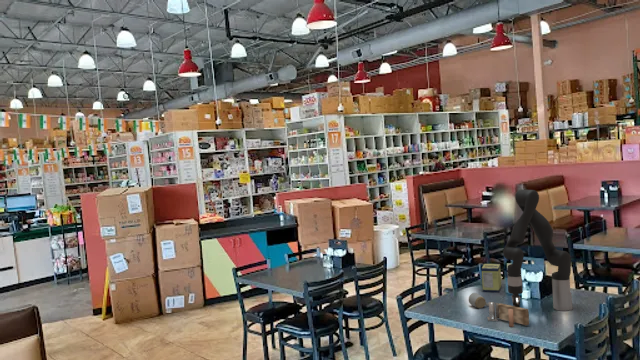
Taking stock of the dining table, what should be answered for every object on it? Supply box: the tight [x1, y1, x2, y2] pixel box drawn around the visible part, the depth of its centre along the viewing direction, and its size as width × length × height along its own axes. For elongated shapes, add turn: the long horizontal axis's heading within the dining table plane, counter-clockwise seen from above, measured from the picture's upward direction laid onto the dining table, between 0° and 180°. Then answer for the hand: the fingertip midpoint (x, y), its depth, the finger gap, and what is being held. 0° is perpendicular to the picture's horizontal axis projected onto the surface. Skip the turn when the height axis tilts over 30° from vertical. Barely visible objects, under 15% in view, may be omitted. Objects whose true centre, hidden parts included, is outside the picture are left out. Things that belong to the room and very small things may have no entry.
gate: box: [494, 302, 530, 326], centre depth 281 cm, size 19×2×8 cm, turn 36°
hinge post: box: [486, 301, 499, 322], centre depth 289 cm, size 5×5×10 cm
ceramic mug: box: [468, 292, 489, 309], centre depth 313 cm, size 11×8×8 cm
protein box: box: [481, 263, 503, 293], centre depth 348 cm, size 10×16×16 cm
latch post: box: [508, 309, 515, 328], centre depth 276 cm, size 2×2×9 cm
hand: (516, 315), depth 285 cm, fingers closed
